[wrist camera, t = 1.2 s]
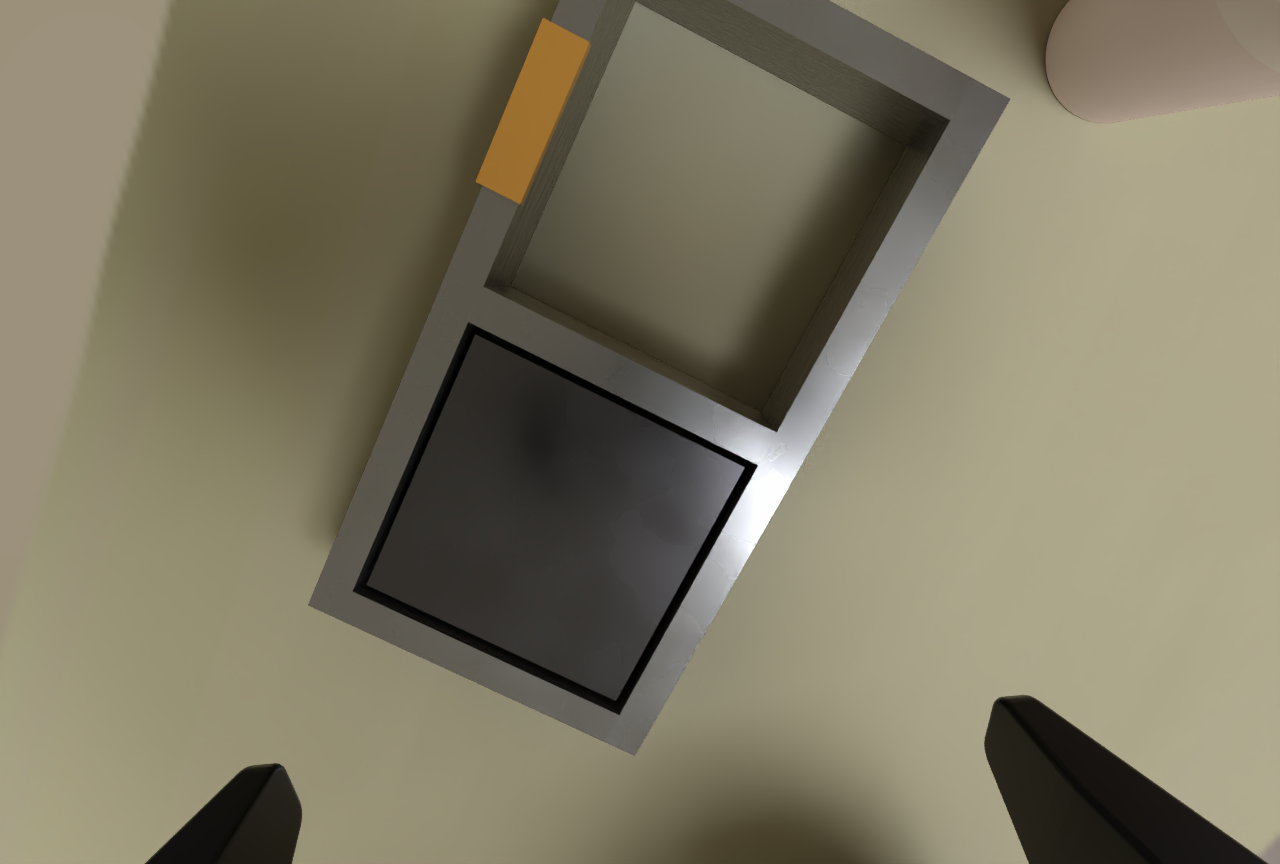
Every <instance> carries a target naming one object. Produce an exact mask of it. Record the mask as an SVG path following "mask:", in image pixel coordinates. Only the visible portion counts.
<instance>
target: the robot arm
mask: <svg viewBox="0 0 1280 864" xmlns="http://www.w3.org/2000/svg"><path fill="white" fill-rule="evenodd" d="M984 747H985V753H986V757H987V760H988V763H989V765H990V768H991V770H992V773H993V775H994V778H995V780H996V783H997V785H998V788H999V790H1000V793H1001V795H1002V798H1003V800H1004V802H1005V805H1006V807H1007V810H1008V812H1009V815H1010V817H1011V820H1012V822H1013V825H1014V827H1015V830H1016V832H1017V835H1018V837H1019V840H1020V842H1021V845H1022V847H1023V850H1024V852H1025V855H1026V857H1027V860H1028V862H1029V864H1268V863H1267V862H1265V861H1264V860H1263V859H1261V858H1260V857H1258V856H1257V855H1255V854H1254V853H1253V852H1251V851H1250V850H1248V849H1247V848H1246V847H1244V846H1243V845H1241V844H1240V843H1239V842H1237V841H1236V840H1234V839H1233V838H1232V837H1230V836H1229V835H1227V834H1226V833H1225V832H1223V831H1222V830H1220V829H1219V828H1217V827H1216V826H1215V825H1213V824H1212V823H1210V822H1209V821H1208V820H1206V819H1205V818H1203V817H1202V816H1201V815H1199V814H1198V813H1196V812H1195V811H1194V810H1192V809H1191V808H1189V807H1188V806H1187V805H1185V804H1184V803H1182V802H1181V801H1179V800H1178V799H1177V798H1175V797H1174V796H1172V795H1171V794H1170V793H1168V792H1167V791H1165V790H1164V789H1163V788H1161V787H1160V786H1158V785H1157V784H1156V783H1154V782H1153V781H1151V780H1150V779H1149V778H1147V777H1146V776H1144V775H1143V774H1141V773H1140V772H1139V771H1137V770H1136V769H1134V768H1133V767H1132V766H1130V765H1129V764H1127V763H1126V762H1125V761H1123V760H1122V759H1120V758H1119V757H1118V756H1116V755H1115V754H1113V753H1112V752H1110V751H1109V750H1108V749H1106V748H1105V747H1103V746H1102V745H1101V744H1099V743H1098V742H1096V741H1095V740H1094V739H1092V738H1091V737H1089V736H1088V735H1087V734H1085V733H1084V732H1082V731H1081V730H1080V729H1078V728H1077V727H1075V726H1074V725H1072V724H1071V723H1070V722H1068V721H1067V720H1065V719H1064V718H1063V717H1061V716H1060V715H1058V714H1057V713H1056V712H1054V711H1053V710H1051V709H1050V708H1049V707H1047V706H1046V705H1044V704H1043V703H1042V702H1040V701H1039V700H1037V699H1035V698H1033V697H1031V696H1028V695H1017V696H1006V697H1000V698H998V699H997V700H996V701H995V702H994V704H993V708H992V712H991V716H990V720H989V724H988V728H987V732H986V736H985V741H984ZM301 821H302V808H301V803H300V800H299V798H298V796H297V794H296V792H295V789H294V787H293V785H292V783H291V781H290V778H289V776H288V774H287V772H286V770H285V768H284V767H283V766H282V765H280V764H277V763H274V764H263V765H253V766H249V767H246V768H245V769H243V770H242V771H240V772H239V773H238V774H237V775H236V776H235V777H234V778H233V779H232V780H231V781H230V782H229V783H228V784H226V785H225V786H224V787H223V788H222V789H221V790H220V791H219V792H218V793H217V794H216V795H215V796H214V797H213V798H212V799H211V800H210V801H209V802H208V803H207V804H206V805H205V806H204V807H203V808H202V809H201V810H200V811H199V812H198V813H197V814H196V815H195V816H193V817H192V818H191V819H190V820H189V821H188V822H187V823H186V824H185V825H184V826H183V827H182V828H181V829H180V830H179V831H178V832H177V833H176V834H175V835H174V836H173V837H172V838H171V839H170V840H169V841H168V842H167V843H166V844H165V845H164V846H163V847H162V848H160V849H159V850H158V851H157V852H156V853H155V854H154V855H153V856H152V857H151V858H150V859H149V860H148V861H147V862H146V863H145V864H292V860H293V856H294V852H295V848H296V844H297V839H298V835H299V831H300V827H301Z"/></svg>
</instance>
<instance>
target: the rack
mask: <svg viewBox="0 0 1280 864" xmlns="http://www.w3.org/2000/svg"><path fill="white" fill-rule="evenodd" d="M635 1H637V2H639V3H640V4H642V5H644V6H646V7H648V8H650V9H652V10H654V11H655V12H657V13H659V14H661V15H663V16H665V17H667V18H669V19H670V20H672V21H674V22H676V23H678V24H680V25H682V26H684V27H686V28H687V29H689V30H691V31H693V32H695V33H697V34H699V35H701V36H702V37H704V38H706V39H708V40H710V41H712V42H714V43H716V44H717V45H719V46H721V47H723V48H725V49H727V50H729V51H731V52H732V53H734V54H736V55H738V56H740V57H742V58H744V59H746V60H747V61H749V62H751V63H753V64H755V65H757V66H759V67H761V68H762V69H764V70H766V71H768V72H770V73H772V74H774V75H776V76H777V77H779V78H781V79H783V80H785V81H787V82H789V83H791V84H792V85H794V86H796V87H798V88H800V89H802V90H804V91H806V92H807V93H809V94H811V95H813V96H815V97H817V98H819V99H821V100H822V101H824V102H826V103H828V104H830V105H832V106H834V107H836V108H837V109H839V110H841V111H843V112H845V113H847V114H849V115H851V116H853V117H854V118H856V119H858V120H860V121H862V122H864V123H866V124H868V125H869V126H871V127H873V128H875V129H877V130H879V131H881V132H883V133H884V134H886V135H888V136H890V137H892V138H894V139H896V140H898V141H899V142H901V143H903V144H905V145H907V147H906V148H905V150H904V152H903V154H902V156H901V158H900V159H899V161H898V163H897V165H896V167H895V168H894V170H893V172H892V174H891V176H890V178H889V179H888V181H887V183H886V185H885V187H884V189H883V190H882V192H881V194H880V196H879V198H878V200H877V201H876V203H875V205H874V207H873V209H872V211H871V212H870V214H869V216H868V218H867V220H866V222H865V223H864V225H863V227H862V229H861V231H860V232H859V234H858V236H857V238H856V240H855V242H854V243H853V245H852V247H851V249H850V251H849V253H848V254H847V256H846V258H845V260H844V262H843V264H842V265H841V267H840V269H839V271H838V273H837V275H836V276H835V278H834V280H833V282H832V284H831V286H830V287H829V289H828V291H827V293H826V295H825V296H824V298H823V300H822V302H821V304H820V306H819V307H818V309H817V311H816V313H815V315H814V317H813V318H812V320H811V322H810V324H809V326H808V328H807V329H806V331H805V333H804V335H803V337H802V339H801V340H800V342H799V344H798V346H797V348H796V350H795V351H794V353H793V355H792V357H791V359H790V360H789V362H788V364H787V366H786V368H785V370H784V371H783V373H782V375H781V377H780V379H779V381H778V382H777V384H776V386H775V388H774V390H773V392H772V393H771V395H770V397H769V399H768V401H767V403H766V404H765V406H764V408H763V410H762V412H761V411H759V410H757V409H755V408H753V407H751V406H749V405H747V404H745V403H743V402H741V401H739V400H737V399H735V398H733V397H731V396H729V395H727V394H725V393H723V392H721V391H719V390H717V389H715V388H713V387H711V386H709V385H707V384H705V383H703V382H701V381H699V380H697V379H695V378H693V377H691V376H689V375H687V374H685V373H683V372H681V371H679V370H677V369H675V368H673V367H671V366H669V365H667V364H665V363H663V362H661V361H659V360H657V359H655V358H653V357H651V356H649V355H647V354H645V353H643V352H641V351H639V350H637V349H635V348H633V347H631V346H629V345H627V344H625V343H623V342H621V341H619V340H617V339H615V338H613V337H611V336H609V335H607V334H605V333H603V332H601V331H599V330H597V329H595V328H593V327H591V326H589V325H587V324H585V323H583V322H581V321H579V320H577V319H575V318H573V317H571V316H569V315H567V314H565V313H563V312H561V311H559V310H557V309H555V308H553V307H551V306H549V305H547V304H545V303H543V302H541V301H539V300H537V299H535V298H533V297H531V296H529V295H527V294H525V293H523V292H521V291H519V290H517V289H515V288H513V287H511V286H510V285H511V283H512V281H513V279H514V276H515V274H516V272H517V270H518V267H519V265H520V263H521V260H522V258H523V256H524V254H525V251H526V249H527V247H528V244H529V242H530V240H531V238H532V235H533V233H534V231H535V228H536V226H537V224H538V222H539V219H540V217H541V215H542V213H543V210H544V208H545V206H546V203H547V201H548V199H549V197H550V194H551V192H552V190H553V187H554V185H555V183H556V181H557V178H558V176H559V174H560V171H561V169H562V167H563V165H564V162H565V160H566V158H567V156H568V153H569V151H570V149H571V146H572V144H573V142H574V140H575V137H576V135H577V133H578V130H579V128H580V126H581V124H582V121H583V119H584V117H585V114H586V112H587V110H588V108H589V105H590V103H591V101H592V99H593V96H594V94H595V92H596V89H597V87H598V85H599V83H600V80H601V78H602V76H603V73H604V71H605V69H606V67H607V64H608V62H609V60H610V58H611V55H612V53H613V51H614V48H615V46H616V44H617V42H618V39H619V37H620V35H621V32H622V30H623V28H624V26H625V23H626V21H627V19H628V16H629V14H630V12H631V10H632V7H633V5H634V3H635ZM1009 101H1010V98H1008V97H1006V96H1004V95H1002V94H1000V93H998V92H997V91H995V90H993V89H991V88H989V87H987V86H986V85H984V84H982V83H980V82H978V81H976V80H975V79H973V78H971V77H969V76H967V75H965V74H963V73H962V72H960V71H958V70H956V69H954V68H952V67H951V66H949V65H947V64H945V63H943V62H941V61H940V60H938V59H936V58H934V57H932V56H930V55H929V54H927V53H925V52H923V51H921V50H919V49H917V48H916V47H914V46H912V45H910V44H908V43H906V42H905V41H903V40H901V39H899V38H897V37H895V36H894V35H892V34H890V33H888V32H886V31H884V30H882V29H881V28H879V27H877V26H875V25H873V24H871V23H870V22H868V21H866V20H864V19H862V18H860V17H859V16H857V15H855V14H853V13H851V12H849V11H847V10H846V9H844V8H842V7H840V6H838V5H836V4H835V3H833V2H831V1H829V0H559V2H558V4H557V7H556V9H555V12H554V14H553V16H552V19H551V21H549V20H547V19H545V18H543V19H542V21H541V24H540V26H539V29H538V31H537V33H536V36H535V38H534V41H533V43H532V46H531V48H530V50H529V53H528V55H527V58H526V60H525V62H524V65H523V67H522V70H521V72H520V75H519V77H518V79H517V82H516V84H515V87H514V89H513V92H512V94H511V96H510V99H509V101H508V104H507V106H506V109H505V111H504V113H503V116H502V118H501V121H500V123H499V126H498V128H497V130H496V133H495V135H494V138H493V140H492V143H491V145H490V147H489V150H488V152H487V155H486V157H485V159H484V162H483V164H482V167H481V169H480V172H479V174H478V176H477V179H476V181H475V182H477V183H479V184H481V185H482V187H481V190H480V192H479V195H478V197H477V200H476V202H475V204H474V207H473V209H472V212H471V214H470V216H469V219H468V221H467V224H466V226H465V228H464V231H463V233H462V236H461V238H460V240H459V243H458V245H457V248H456V250H455V253H454V255H453V257H452V260H451V262H450V265H449V267H448V269H447V272H446V274H445V277H444V279H443V281H442V284H441V286H440V289H439V291H438V293H437V296H436V298H435V301H434V303H433V306H432V308H431V310H430V313H429V315H428V318H427V320H426V322H425V325H424V327H423V330H422V332H421V334H420V337H419V339H418V342H417V344H416V346H415V349H414V351H413V354H412V356H411V359H410V361H409V363H408V366H407V368H406V371H405V373H404V375H403V378H402V380H401V383H400V385H399V387H398V390H397V392H396V395H395V397H394V399H393V402H392V404H391V407H390V409H389V411H388V414H387V416H386V419H385V421H384V424H383V426H382V428H381V431H380V433H379V436H378V438H377V440H376V443H375V445H374V448H373V450H372V452H371V455H370V457H369V460H368V462H367V464H366V467H365V469H364V472H363V474H362V477H361V479H360V481H359V484H358V486H357V489H356V491H355V493H354V496H353V498H352V501H351V503H350V505H349V508H348V510H347V513H346V515H345V517H344V520H343V522H342V525H341V527H340V530H339V532H338V534H337V537H336V539H335V542H334V544H333V546H332V549H331V551H330V554H329V556H328V558H327V561H326V563H325V566H324V568H323V570H322V573H321V575H320V578H319V580H318V583H317V585H316V587H315V590H314V592H313V595H312V597H311V599H310V602H309V604H308V605H309V606H311V607H313V608H315V609H317V610H320V611H322V612H324V613H326V614H328V615H330V616H333V617H335V618H337V619H339V620H341V621H343V622H346V623H348V624H350V625H352V626H354V627H356V628H359V629H361V630H363V631H365V632H367V633H369V634H372V635H374V636H376V637H378V638H380V639H383V640H385V641H387V642H389V643H391V644H393V645H396V646H398V647H400V648H402V649H404V650H406V651H409V652H411V653H413V654H415V655H417V656H419V657H422V658H424V659H426V660H428V661H430V662H432V663H435V664H437V665H439V666H441V667H443V668H445V669H448V670H450V671H452V672H454V673H456V674H458V675H461V676H463V677H465V678H467V679H469V680H471V681H474V682H476V683H478V684H480V685H482V686H484V687H487V688H489V689H491V690H493V691H495V692H497V693H500V694H502V695H504V696H506V697H508V698H511V699H513V700H515V701H517V702H519V703H521V704H524V705H526V706H528V707H530V708H532V709H534V710H537V711H539V712H541V713H543V714H545V715H547V716H550V717H552V718H554V719H556V720H558V721H560V722H563V723H565V724H567V725H569V726H571V727H573V728H576V729H578V730H580V731H582V732H584V733H586V734H589V735H591V736H593V737H595V738H597V739H599V740H602V741H604V742H606V743H608V744H610V745H612V746H615V747H617V748H619V749H621V750H623V751H625V752H628V753H630V754H632V755H634V756H635V755H636V753H637V751H638V750H639V748H640V746H641V744H642V743H643V741H644V739H645V737H646V736H647V734H648V732H649V730H650V729H651V727H652V725H653V723H654V722H655V720H656V718H657V716H658V715H659V713H660V711H661V709H662V708H663V706H664V704H665V702H666V701H667V699H668V697H669V695H670V694H671V692H672V690H673V688H674V687H675V685H676V683H677V681H678V680H679V678H680V676H681V674H682V673H683V671H684V669H685V667H686V666H687V664H688V662H689V660H690V659H691V657H692V655H693V653H694V652H695V650H696V648H697V646H698V645H699V643H700V641H701V639H702V638H703V636H704V634H705V632H706V631H707V629H708V627H709V625H710V624H711V622H712V620H713V618H714V617H715V615H716V613H717V611H718V610H719V608H720V606H721V604H722V603H723V601H724V599H725V597H726V596H727V594H728V592H729V590H730V589H731V587H732V585H733V583H734V582H735V580H736V578H737V576H738V575H739V573H740V571H741V569H742V568H743V566H744V564H745V562H746V561H747V559H748V557H749V555H750V554H751V552H752V550H753V548H754V547H755V545H756V543H757V541H758V540H759V538H760V536H761V534H762V533H763V531H764V529H765V527H766V526H767V524H768V522H769V520H770V519H771V517H772V515H773V513H774V512H775V510H776V508H777V506H778V505H779V503H780V501H781V499H782V498H783V496H784V494H785V492H786V491H787V489H788V487H789V485H790V484H791V482H792V480H793V478H794V477H795V475H796V473H797V471H798V470H799V468H800V466H801V464H802V463H803V461H804V459H805V457H806V456H807V454H808V452H809V450H810V449H811V447H812V445H813V443H814V442H815V440H816V438H817V436H818V435H819V433H820V431H821V429H822V428H823V426H824V424H825V422H826V421H827V419H828V417H829V415H830V414H831V412H832V410H833V408H834V407H835V405H836V403H837V401H838V400H839V398H840V396H841V394H842V393H843V391H844V389H845V387H846V386H847V384H848V382H849V380H850V379H851V377H852V375H853V373H854V372H855V370H856V368H857V366H858V365H859V363H860V361H861V359H862V358H863V356H864V354H865V352H866V351H867V349H868V347H869V345H870V344H871V342H872V340H873V338H874V337H875V335H876V333H877V331H878V330H879V328H880V326H881V324H882V323H883V321H884V319H885V317H886V316H887V314H888V312H889V310H890V309H891V307H892V305H893V303H894V302H895V300H896V298H897V296H898V295H899V293H900V291H901V289H902V288H903V286H904V284H905V282H906V281H907V279H908V277H909V275H910V274H911V272H912V270H913V268H914V267H915V265H916V263H917V261H918V260H919V258H920V256H921V254H922V253H923V251H924V249H925V247H926V246H927V244H928V242H929V240H930V239H931V237H932V235H933V233H934V232H935V230H936V228H937V226H938V225H939V223H940V221H941V219H942V218H943V216H944V214H945V212H946V211H947V209H948V207H949V205H950V204H951V202H952V200H953V198H954V197H955V195H956V193H957V191H958V190H959V188H960V186H961V184H962V183H963V181H964V179H965V177H966V176H967V174H968V172H969V170H970V169H971V167H972V165H973V163H974V162H975V160H976V158H977V156H978V155H979V153H980V151H981V149H982V148H983V146H984V144H985V142H986V141H987V139H988V137H989V135H990V134H991V132H992V130H993V128H994V127H995V125H996V123H997V121H998V120H999V118H1000V116H1001V114H1002V113H1003V111H1004V109H1005V108H1006V106H1007V104H1008V102H1009Z"/></svg>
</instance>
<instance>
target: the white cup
mask: <svg viewBox="0 0 1280 864" xmlns="http://www.w3.org/2000/svg"><path fill="white" fill-rule="evenodd" d="M1045 62H1046V72H1047V77H1048V81H1049V84H1050V86H1051V89H1052V91H1053V93H1054V95H1055V96H1056V98H1057V99H1058V100H1059V102H1060V103H1061V104H1062V105H1063V106H1064V107H1065V108H1066V109H1067V110H1068V111H1070V112H1071V113H1072V114H1074V115H1076V116H1078V117H1080V118H1082V119H1085V120H1087V121H1092V122H1097V123H1114V122H1120V121H1126V120H1132V119H1138V118H1144V117H1150V116H1157V115H1163V114H1169V113H1175V112H1181V111H1187V110H1193V109H1199V108H1205V107H1211V106H1217V105H1223V104H1229V103H1235V102H1241V101H1248V100H1254V99H1260V98H1266V97H1272V96H1278V95H1280V0H1069V2H1068V3H1067V4H1066V5H1065V6H1064V8H1063V9H1062V10H1061V12H1060V13H1059V15H1058V17H1057V18H1056V20H1055V22H1054V24H1053V27H1052V29H1051V32H1050V35H1049V38H1048V42H1047V47H1046V58H1045Z"/></svg>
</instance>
